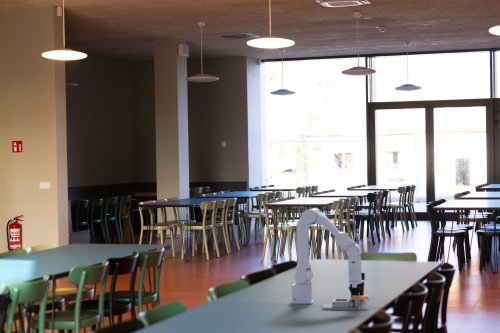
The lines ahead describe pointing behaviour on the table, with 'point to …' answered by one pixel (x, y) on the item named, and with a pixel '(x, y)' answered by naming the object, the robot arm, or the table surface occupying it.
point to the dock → (342, 304)
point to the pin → (360, 297)
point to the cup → (362, 285)
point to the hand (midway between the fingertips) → (355, 301)
